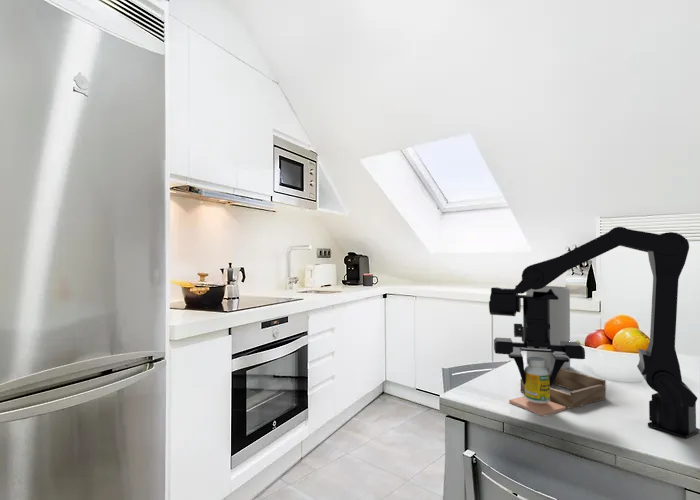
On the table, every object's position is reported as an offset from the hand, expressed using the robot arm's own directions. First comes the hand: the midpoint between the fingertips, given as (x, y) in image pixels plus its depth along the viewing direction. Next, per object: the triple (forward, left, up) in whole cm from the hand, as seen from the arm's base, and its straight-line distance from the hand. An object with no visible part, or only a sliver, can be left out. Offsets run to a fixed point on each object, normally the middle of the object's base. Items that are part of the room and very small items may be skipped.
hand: (537, 384), depth 91 cm
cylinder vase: (+21, -33, -5) cm, 40 cm away
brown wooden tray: (+2, -12, -5) cm, 13 cm away
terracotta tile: (0, 0, -5) cm, 5 cm away
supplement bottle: (0, 0, -4) cm, 4 cm away
